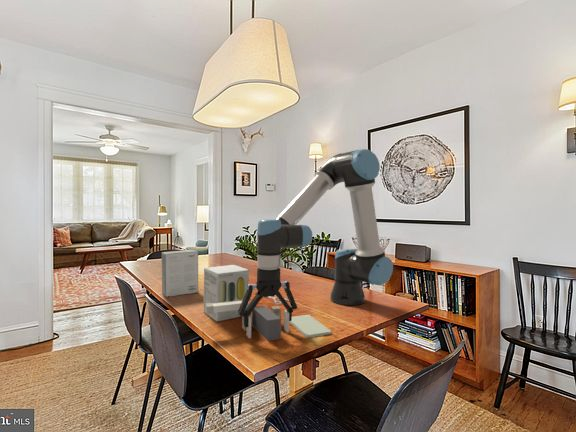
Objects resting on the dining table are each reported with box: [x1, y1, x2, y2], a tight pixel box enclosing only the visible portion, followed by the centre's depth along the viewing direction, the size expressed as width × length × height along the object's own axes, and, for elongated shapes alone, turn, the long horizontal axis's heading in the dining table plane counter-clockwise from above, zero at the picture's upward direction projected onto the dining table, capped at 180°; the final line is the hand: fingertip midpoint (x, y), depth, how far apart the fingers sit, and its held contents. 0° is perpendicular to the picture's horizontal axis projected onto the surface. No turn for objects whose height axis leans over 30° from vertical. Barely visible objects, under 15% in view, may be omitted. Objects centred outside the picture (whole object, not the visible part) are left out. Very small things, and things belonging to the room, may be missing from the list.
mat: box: [289, 314, 333, 339], centre depth 105 cm, size 9×17×1 cm, turn 22°
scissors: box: [267, 296, 298, 305], centre depth 139 cm, size 11×1×20 cm
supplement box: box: [203, 264, 250, 323], centre depth 117 cm, size 13×13×18 cm
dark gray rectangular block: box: [252, 305, 282, 342], centre depth 100 cm, size 4×14×6 cm, turn 27°
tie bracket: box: [241, 305, 282, 332], centre depth 105 cm, size 13×3×6 cm, turn 112°
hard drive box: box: [161, 249, 199, 298], centre depth 145 cm, size 16×8×20 cm, turn 123°
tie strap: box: [205, 301, 251, 315], centre depth 100 cm, size 14×4×2 cm, turn 112°
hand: (268, 333), depth 98 cm, fingers open, 12 cm apart
